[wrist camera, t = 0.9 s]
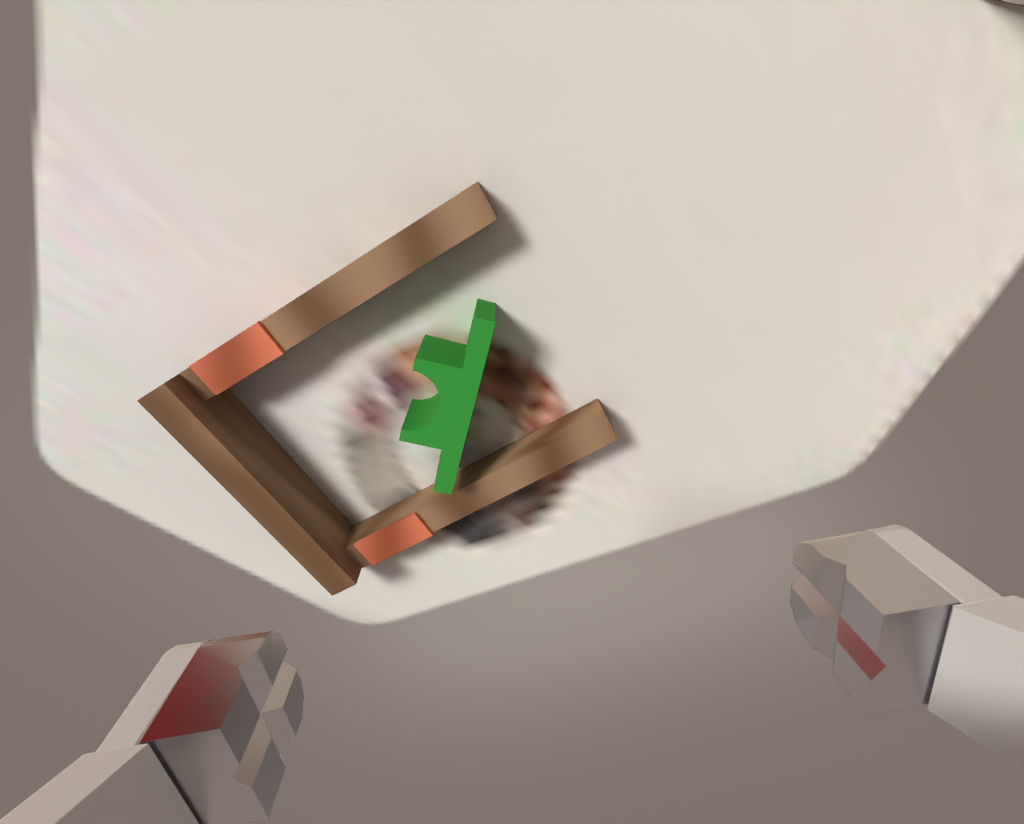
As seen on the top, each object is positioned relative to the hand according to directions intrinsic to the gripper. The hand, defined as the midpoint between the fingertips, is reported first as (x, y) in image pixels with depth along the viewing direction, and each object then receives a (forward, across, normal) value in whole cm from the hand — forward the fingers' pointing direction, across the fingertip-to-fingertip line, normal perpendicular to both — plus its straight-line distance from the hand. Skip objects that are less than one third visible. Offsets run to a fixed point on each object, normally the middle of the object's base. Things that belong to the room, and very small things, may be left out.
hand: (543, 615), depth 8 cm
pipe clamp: (+25, +3, +4) cm, 26 cm away
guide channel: (+25, +6, +4) cm, 26 cm away
